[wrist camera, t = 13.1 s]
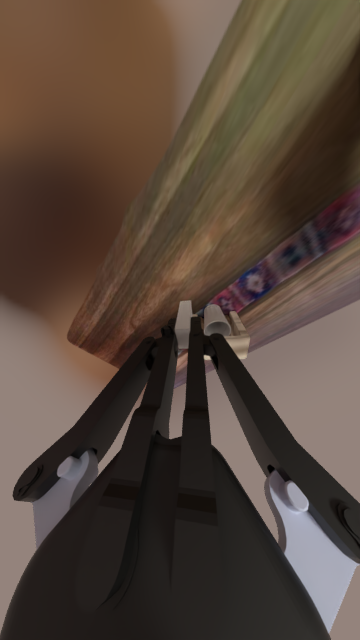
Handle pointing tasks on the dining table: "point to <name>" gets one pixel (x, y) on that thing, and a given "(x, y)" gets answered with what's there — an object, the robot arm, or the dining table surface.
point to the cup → (215, 321)
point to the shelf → (234, 335)
